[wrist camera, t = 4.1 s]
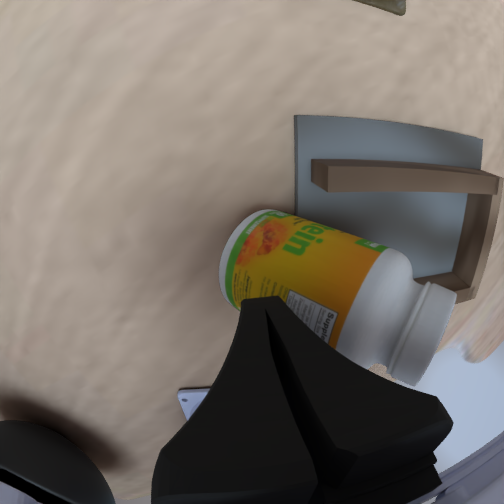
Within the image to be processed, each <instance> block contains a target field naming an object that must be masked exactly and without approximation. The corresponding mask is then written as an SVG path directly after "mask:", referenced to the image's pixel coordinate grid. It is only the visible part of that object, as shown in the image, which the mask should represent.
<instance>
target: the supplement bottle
mask: <svg viewBox="0 0 504 504" xmlns="http://www.w3.org/2000/svg"><path fill="white" fill-rule="evenodd" d="M219 283H220V288H221V291H222V294H223V296H224V297H225V299H226V300H227V301H228V302H229V303H230V304H231V305H232V306H234V307H235V308H236V309H238V310H239V311H241V303H240V302H241V301H242V300H243V299H249V298H259V297H268V296H277V295H278V296H279V297H280V298H281V299H282V300H283V301H284V302H285V303H286V304H287V305H288V307H289V308H290V309H291V310H292V311H293V312H294V313H295V314H296V315H297V316H298V317H299V318H300V319H301V320H302V321H303V322H304V323H305V324H306V325H307V326H308V327H309V328H310V329H311V330H312V331H313V332H314V333H316V334H317V335H318V336H319V337H320V338H321V339H323V340H324V341H325V342H326V343H327V344H329V345H330V346H331V347H332V348H334V349H335V350H336V351H338V352H339V353H341V354H342V355H344V356H345V357H347V358H348V359H350V360H351V361H353V362H355V363H356V364H358V365H360V366H361V367H363V368H365V369H368V368H370V367H371V366H372V365H373V364H375V363H379V364H382V365H384V366H386V367H387V371H386V372H387V373H388V374H391V376H392V378H395V379H398V380H400V381H402V382H405V383H407V384H409V385H411V386H416V385H417V384H418V382H419V381H420V379H421V378H422V376H423V375H424V373H425V371H426V369H427V367H428V366H429V364H430V362H431V360H432V358H433V356H434V354H435V352H436V350H437V348H438V345H439V343H440V341H441V339H442V336H443V334H444V332H445V329H446V327H447V324H448V322H449V319H450V316H451V313H452V311H453V308H454V305H455V301H456V296H457V294H456V293H455V292H453V291H451V290H449V289H446V288H444V287H442V286H440V285H437V284H435V283H434V284H431V283H430V282H427V283H426V284H425V285H421V284H418V283H417V282H415V281H414V280H413V272H412V266H411V263H410V261H409V260H408V258H407V257H406V256H405V255H404V254H403V253H401V252H399V251H397V250H394V249H392V248H389V247H386V246H384V245H381V244H378V243H375V242H372V241H369V240H366V239H363V238H360V237H357V236H355V235H352V234H349V233H345V232H342V231H340V230H337V229H334V228H331V227H328V226H325V225H322V224H319V223H316V222H312V221H309V220H306V219H303V218H300V217H297V216H294V215H291V214H288V213H285V212H281V211H278V210H272V209H265V210H260V211H258V212H255V213H253V214H251V215H250V216H248V217H247V218H246V219H244V220H243V221H242V222H241V223H240V224H239V225H238V226H237V228H236V229H235V230H234V232H233V233H232V234H231V236H230V238H229V240H228V241H227V243H226V245H225V248H224V250H223V253H222V256H221V259H220V265H219Z"/></svg>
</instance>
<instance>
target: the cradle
mask: <svg viewBox="0 0 504 504" xmlns="http://www.w3.org/2000/svg"><path fill="white" fill-rule="evenodd" d="M294 129H295V216H297V217H300V218H303V219H306V220H309V221H312V222H316V223H319V224H322V225H325V226H328V227H331V228H334V229H337V230H340V231H342V232H345V233H349V234H352V235H355V236H357V237H360V238H363V239H366V240H369V241H372V242H375V243H378V244H381V245H384V246H386V247H389V248H392V249H394V250H397V251H399V252H401V253H403V254H404V255H405V256H406V257H407V258H408V260H409V261H410V263H411V266H412V272H413V280H414V281H415V282H417V283H418V284H421V285H425V284H426V283H427V282H430V283H431V284H434V283H435V284H437V285H440V286H442V287H444V288H446V289H449V290H451V291H453V292H455V293H456V294H457V296H456V301H455V304H458V303H461V302H464V301H468V300H471V299H474V298H475V297H476V294H477V291H478V289H479V286H480V283H481V279H482V276H483V273H484V270H485V267H486V263H487V260H488V256H489V252H490V248H491V245H492V240H493V236H494V232H495V227H496V223H497V218H498V213H499V207H500V201H501V195H502V188H503V181H504V178H502V177H499V176H496V175H494V174H491V173H488V172H485V171H482V170H481V160H482V146H483V139H479V138H475V137H471V136H467V135H463V134H458V133H454V132H449V131H444V130H439V129H434V128H429V127H423V126H417V125H411V124H404V123H397V122H389V121H381V120H371V119H361V118H349V117H334V116H310V115H294Z"/></svg>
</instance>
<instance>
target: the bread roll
mask: <svg viewBox="0 0 504 504" xmlns="http://www.w3.org/2000/svg"><path fill="white" fill-rule="evenodd" d="M354 1H358V2H360V3H363V4H367V5H370V6H373V7H376V8H379V9H382V10H385V11H388V12H391V13H394V14H396V15H399V16H402V15H404V14H405V12H406V0H354Z"/></svg>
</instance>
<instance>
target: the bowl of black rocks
mask: <svg viewBox="0 0 504 504" xmlns="http://www.w3.org/2000/svg"><path fill="white" fill-rule="evenodd" d="M0 481H1V482H3V483H5V484H7V485H9V486H11V487H13V488H15V489H17V490H20V491H21V492H23V493H25V494H27V495H28V496H30V497H32V498H33V499H35V500H36V501H37V502H39V503H42V504H115V500H114V497H113V494H112V492H111V489H110V487H109V485H108V483H107V482H106V480H105V478H104V477H103V475H102V474H101V472H100V471H99V469H98V468H97V467H96V466H95V464H94V463H93V462H92V461H91V460H90V459H89V458H88V456H87V455H86V454H85V453H84V452H82V451H81V450H80V449H79V448H78V447H77V446H76V445H74V444H73V443H72V442H70V441H69V440H67V439H66V438H65V437H63V436H61V435H60V434H58V433H56V432H54V431H52V430H50V429H48V428H46V427H43V426H40V425H37V424H34V423H30V422H25V421H17V420H6V421H0Z"/></svg>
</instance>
